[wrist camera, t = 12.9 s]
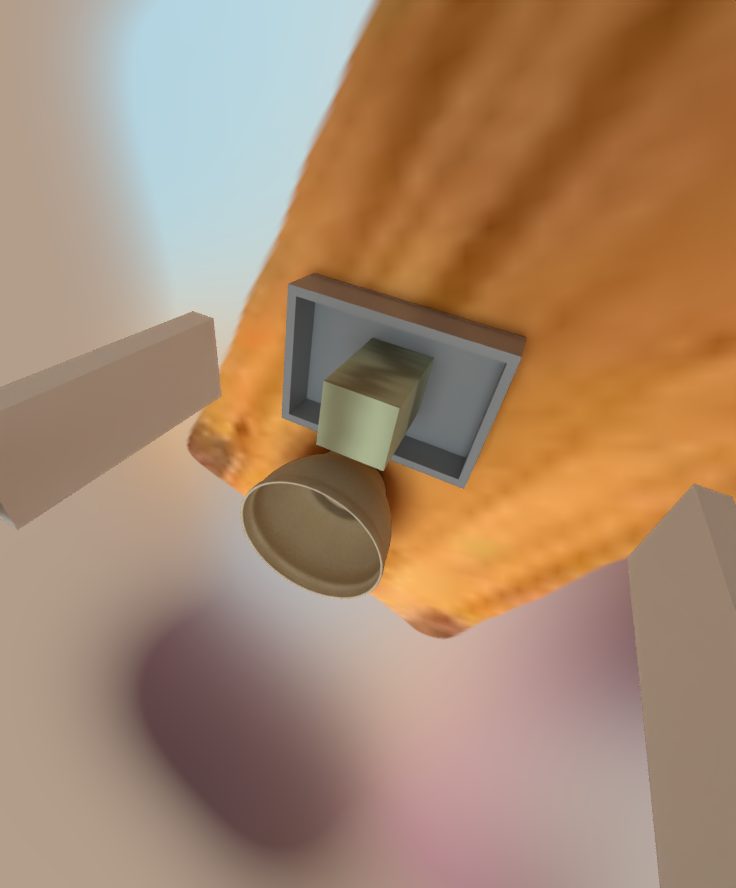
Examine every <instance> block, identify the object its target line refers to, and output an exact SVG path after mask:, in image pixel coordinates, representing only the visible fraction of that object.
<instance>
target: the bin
mask: <svg viewBox="0 0 736 888" xmlns="http://www.w3.org/2000/svg"><path fill="white" fill-rule="evenodd" d="M372 338H376V339H379V340H382V341H385V342H388V343H391V344H394V345H397V346H400V347H403V348H406V349H409V350H412V351H415V352H418V353H421V354H424V355H427V356H430V357H434V360H433V364H432V367H431V371H430V374H429V377H428V381H427V384H426V388H425V391H424V394H423V398H422V401H421V404H420V408H419V411H418V414H417V416H416V417H415V419H414V421H413V422H412V424H411V426H410V427H409V429H408V431H407V432H406V434H405V436H404V437H403V439H402V441H401V442H400V444H399V446H398V448H397V449H396V451H395V453H394V454H393V456H392V458H391V459H390V460H391V461H394V462H396V463H399V464H402V465H404V466H407V467H409V468H412V469H414V470H417V471H419V472H422V473H425V474H427V475H430V476H432V477H435V478H437V479H440V480H443V481H445V482H448V483H450V484H453V485H455V486H458V487H460V488H463V489H464V488H465V486H466V483H467V481H468V479H469V477H470V474H471V472H472V470H473V468H474V465H475V463H476V461H477V458H478V456H479V454H480V452H481V449H482V447H483V445H484V442H485V440H486V438H487V436H488V433H489V431H490V429H491V427H492V424H493V422H494V420H495V417H496V415H497V413H498V411H499V408H500V406H501V404H502V402H503V399H504V397H505V395H506V392H507V390H508V388H509V386H510V383H511V381H512V379H513V376H514V374H515V372H516V370H517V367H518V365H519V363H520V361H521V358H522V355H523V350H524V345H525V341H526V337H522V336H519V335H516V334H512V333H509V332H506V331H502V330H499V329H496V328H493V327H489V326H486V325H483V324H479V323H476V322H473V321H470V320H466V319H463V318H460V317H456V316H453V315H450V314H446V313H443V312H440V311H437V310H433V309H430V308H427V307H423V306H420V305H417V304H413V303H410V302H407V301H404V300H400V299H397V298H394V297H390V296H387V295H384V294H381V293H377V292H374V291H371V290H367V289H364V288H361V287H357V286H354V285H351V284H348V283H344V282H341V281H338V280H334V279H331V278H328V277H325V276H321V275H318V274H315V273H313V274H311V275H308V276H306V277H304V278H301V279H299V280H296V281H294V282H291V283H289V284H288V299H287V320H286V340H285V361H284V382H283V402H282V418H284V419H286V420H289V421H291V422H294V423H297V424H299V425H302V426H304V427H307V428H309V429H312V430H314V431H317V432H318V425H319V416H320V408H321V399H322V390H323V382H324V380H325V379H326V378H327V377H329V376H330V375H331V374H332V373H333V372H334V371H335V370H336V369H338V368H339V367H340V366H341V365H342V364H343V363H344V362H346V361H347V360H348V359H349V358H350V357H351V356H352V355H354V354H355V353H356V352H357V351H358V350H359V349H360V348H361V347H363V346H364V345H365V344H366V343H367V342H368V341H369V340H371V339H372Z"/></svg>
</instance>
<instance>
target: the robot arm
mask: <svg viewBox="0 0 736 888" xmlns="http://www.w3.org/2000/svg"><path fill="white" fill-rule="evenodd" d="M219 397H221V387H220V378H219V368H218V358H217V349H216V340H215V330H214V320H213V318H211V317H208V316H205V315H202V314H199V313H196V312H193V311H192V312H190V313H187V314H185V315H182V316H180V317H177V318H175V319H172V320H170V321H167V322H164V323H162V324H159V325H157V326H154V327H152V328H149V329H147V330H144V331H142V332H139V333H136V334H134V335H132V336H129V337H126V338H124V339H121V340H119V341H116V342H114V343H111V344H109V345H106V346H103V347H101V348H98V349H96V350H93V351H91V352H88V353H86V354H83V355H81V356H78V357H76V358H73V359H71V360H68V361H65V362H63V363H60V364H58V365H55V366H53V367H50V368H48V369H45V370H43V371H40V372H38V373H35V374H32V375H30V376H27V377H25V378H22V379H20V380H17V381H15V382H12V383H10V384H7V385H5V386H2V387H0V520H2V521H4V522H5V523H7V524H9V525H11V526H12V527H14V528H16V529H20V528H21V527H23V526H24V525H26V524H27V523H29V522H30V521H32V520H33V519H35V518H36V517H38V516H40V515H41V514H43V513H44V512H46V511H47V510H49V509H50V508H52V507H53V506H55V505H56V504H58V503H59V502H61V501H62V500H63V499H65V498H67V497H68V496H70V495H72V494H73V493H75V492H76V491H78V490H79V489H81V488H82V487H84V486H85V485H87V484H88V483H90V482H91V481H93V480H94V479H96V478H97V477H99V476H100V475H102V474H103V473H105V472H107V471H108V470H110V469H111V468H113V467H114V466H116V465H117V464H119V463H120V462H122V461H123V460H125V459H126V458H128V457H129V456H131V455H132V454H134V453H135V452H137V451H139V450H140V449H141V448H143V447H144V446H146V445H148V444H149V443H151V442H152V441H154V440H155V439H157V438H158V437H160V436H161V435H163V434H164V433H166V432H167V431H169V430H171V429H172V428H173V427H175V426H176V425H178V424H180V423H181V422H183V421H184V420H186V419H187V418H189V417H190V416H192V415H193V414H195V413H196V412H198V411H199V410H201V409H202V408H204V407H206V406H207V405H209V404H210V403H212V402H213V401H215V400H216V399H218V398H219ZM627 559H628V569H629V579H630V589H631V599H632V610H633V620H634V630H635V639H636V650H637V660H638V670H639V681H640V690H641V700H642V710H643V721H644V731H645V741H646V751H647V762H648V772H649V782H650V790H651V791H650V792H651V802H652V812H653V822H654V832H655V842H656V853H657V863H658V873H659V882H660V888H736V504H735V502H734V499H733V497H731V496H728V495H725V494H722V493H719V492H716V491H713V490H710V489H708V488H705V487H702V486H699V485H696V484H693V485H692V487H691V488H690V489H689V490H688V491H687V492H686V493H685V494H684V495H683V497H682V498H681V499H680V500H679V501H678V502H677V503H676V504H675V505H674V507H673V508H672V509H671V510H670V511H669V512H668V513H667V514H666V515H665V517H664V518H663V519H662V520H661V521H660V522H659V523H658V524H657V525H656V526H655V528H654V529H653V530H652V531H651V532H650V533H649V534H648V535H647V536H646V538H645V539H644V540H643V541H642V542H641V543H640V544H639V545H638V546H637V548H636V549H635V550H634V551H633V552H632V553H631V554H630V555H629V556H628V558H627Z"/></svg>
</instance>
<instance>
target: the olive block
mask: <svg viewBox="0 0 736 888" xmlns="http://www.w3.org/2000/svg"><path fill="white" fill-rule="evenodd" d="M433 360H434V357H430V356H427V355H424V354H421V353H418V352H415V351H412V350H409V349H406V348H403V347H400V346H397V345H394V344H391V343H388V342H385V341H382V340H379V339H376V338H372V339H371V340H369V341H368V342H367V343H366V344H365V345H364V346H363V347H361V348H360V349H359V350H358V351H357V352H356V353H355V354H354V355H352V356H351V357H350V358H349V359H348V360H347V361H346V362H344V363H343V364H342V365H341V366H340V367H339V368H338V369H336V370H335V371H334V372H333V373H332V374H331V375H330V376H329V377H327V378H326V379H325V380H324V382H323V390H322V399H321V408H320V416H319V425H318V433H317V442H316V445H319V446H321V447H324V448H326V449H329V450H331V451H334V452H336V453H339V454H341V455H344V456H346V457H349V458H351V459H354V460H356V461H359V462H361V463H364V464H366V465H369V466H372V467H374V468H377V469H379V470H382V471H384V469H385V468H386V466H387V464H388V463H389V461H390V459H391V458H392V456H393V454H394V453H395V451H396V449H397V448H398V446H399V444H400V442H401V441H402V439H403V437H404V436H405V434H406V432H407V431H408V429H409V427H410V426H411V424H412V422H413V421H414V419H415V417H416V416H417V414H418V411H419V408H420V404H421V401H422V398H423V394H424V391H425V388H426V384H427V381H428V377H429V374H430V371H431V367H432V364H433Z"/></svg>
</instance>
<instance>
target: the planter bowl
mask: <svg viewBox="0 0 736 888" xmlns="http://www.w3.org/2000/svg"><path fill="white" fill-rule="evenodd" d="M241 521H242V526H243V530H244V532H245V534H246V537H247V539H248V541H249V542H250V544H251V546H252V547H253V549H254V550H255V551H256V553H257V554H258V555H259V556H260V557H261V558H262V560H263V561H264V562H265V563H266V564H267V565H268V566H270V567H271V568H272V569H273V570H274V571H275V572H276V573H278V574H279V575H280V576H282V577H283V578H285V579H286V580H288V581H289V582H291V583H293V584H294V585H296V586H298V587H300V588H302V589H305V590H307V591H309V592H312V593H315V594H318V595H321V596H325V597H330V598H337V599H352V598H357V597H361V596H363V595H365V594H368V593H369V592H371V591H372V590H373V589H374V588H375V587H376V586H377V584H378V583H379V581H380V579H381V576H382V574H383V570H384V565H385V560H386V557H387V554H388V550H389V546H390V540H391V513H390V507H389V503H388V500H387V497H386V488H385V483H384V481H383V478H382V477H381V475H380V473H379V472H378V470H377V469H376V468H374V467H372V466H369V465H366V464H364V463H361V462H359V461H356V460H354V459H351V458H349V457H346V456H344V455H341V454H339V453H336V452H334V451H330V452H327V453H325V454H316V455H310V456H306V457H302V458H299V459H296V460H294V461H291V462H289V463H287V464H285V465H283V466H281V467H280V468H278V469H277V470H275V471H274V472H272V473H271V474H270V475H269V476H267V477H266V478H265V479H264V480H263V481H262V482H260V483H258V484H257V485H256V486H254V487H253V488H252V489H251V490H250V491H249V492H248V493H247V494H246V496H245V497H244V499H243V502H242V505H241Z"/></svg>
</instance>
